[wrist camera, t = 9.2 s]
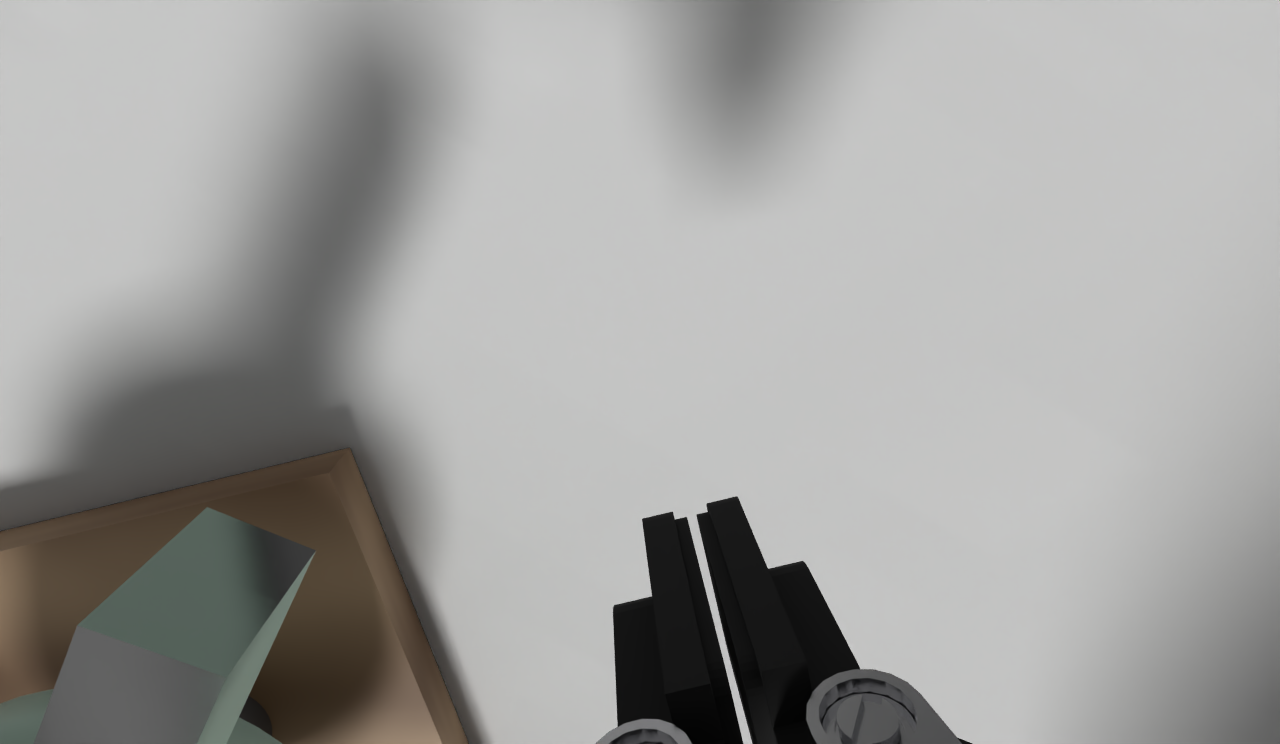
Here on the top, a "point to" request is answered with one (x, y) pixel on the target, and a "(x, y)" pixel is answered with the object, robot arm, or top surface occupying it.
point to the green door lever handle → (172, 645)
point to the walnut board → (311, 631)
